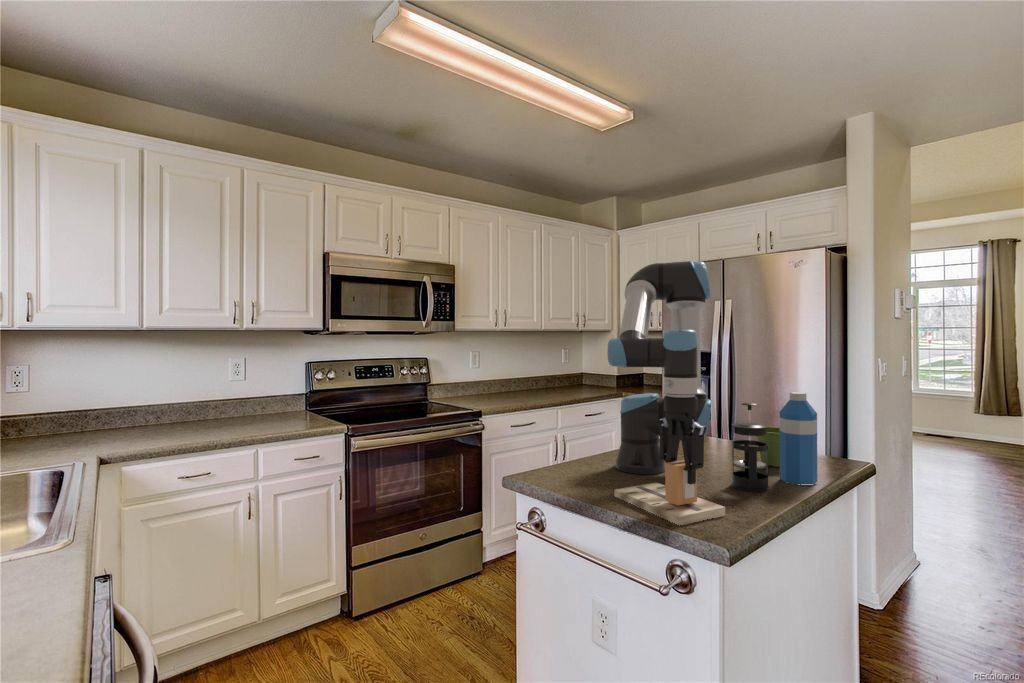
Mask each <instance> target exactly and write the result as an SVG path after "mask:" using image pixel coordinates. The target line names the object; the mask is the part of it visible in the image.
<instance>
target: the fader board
mask: <svg viewBox="0 0 1024 683" xmlns="http://www.w3.org/2000/svg"><path fill="white" fill-rule="evenodd" d="M613 493H614V494H613V496H615V497H618V498H620V499H622V500H624V501H627V502H629V503H631V504H633V505H636V506H637V507H636V508H638V507H640V508H642V509H644V510H646V511H645V512H647V511H648V512H647V513H649V512H651V513H653V514H655V515H654V516H656V515H657V516H656V517H658V516H659V517H658V518H660V517H661V518H660V519H662V518H664V519H663V520H665V519H666V520H665V521H667V520H668V521H667V522H669V521H670V523H672V522H673V523H672V524H674V523H675V524H674V525H676V524H677V525H676V526H678V525H679V526H678V527H680V525H681V526H685V525H689V524H694V522H695V523H699V522H703V520H704V521H708V520H713V519H717V518H722V517H726V506H723V505H721V504H717V503H715V502H712V501H709V500H706V499H703V498H700V497H698V496H697V502H694V503H689V504H684V505H679V506H677V505H675V504H672V503H670V502H667V501H665V484H662V483H659V482H651V483H645V484H639V485H633V486H632V485H631V486H626V487H621V488H615V489H614V490H613ZM615 497H614V498H615ZM620 499H619V500H620ZM622 500H621V501H622ZM624 501H623V502H624ZM629 503H628V504H629ZM631 504H630V505H631ZM633 505H632V506H633ZM640 508H639V509H640ZM642 509H641V510H642ZM644 510H643V511H644ZM651 513H650V514H651ZM653 514H652V515H653ZM712 518H713V519H712ZM707 519H708V520H707Z"/></svg>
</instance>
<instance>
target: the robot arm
mask: <svg viewBox="0 0 1024 683" xmlns="http://www.w3.org/2000/svg"><path fill="white" fill-rule="evenodd" d="M710 289H711V288H710V280H709V275H708V269H707V265H706V264H705V262H703V261H701V260H700V261H691V260H688V261H673V262H655V263H651V264H648V265H645V266H644V267H641V268H640V269H639V270H637V271H636V272H635V273H634V274H633V275H632V276H631V277H630V278H629V279H628V281H627V282H626V285H625V289H624V298H625V299H624V300H625V304H624V310H623V315H622V319H621V324H620V330H619V333H618V337H616V338H611V339H609V340H608V342H607V343H608V344H607V360H608V364H609V365H610V366H611V367H617V368H618V367H619V368H620V367H621V368H625V369H626V368H663V392H664V394H665V396H663V398H660V395H659V393H655V392H654V393H653V392H649V393H640V394H639V393H638V394H632V395H628V396H624V397H623V398H622V399H621V402H620V411H619V414H620V446H619V449H618V451H617V456H616V458H615V468H617V469H616V470H617V471H620V470H621V472H623V473H627V472H628V474H633V473H634V474H633V475H655V474H660V473H664V472H665V463H667V462H674V461H678V453H679V448H680V441H681V445H682V447H681V448H682V453H683V458H684V459H683V460H685V466H686V468H683V498H685V499H686V498H691V497H694V484H695V483H696V470H697V471H698V470H699V469H703V468H704V456H705V455H704V452H705V437H706V436H707V435H708V432H709V425H710V417H711V408H712V400H711V399H709V398H707V392H705V391H704V389H703V388H702V384H701V382H702V381H701V380H702V379H701V378H702V377H701V375H702V374H701V373H702V370H701V366H702V363H701V362H702V361H701V356H702V355H701V351H702V350H701V310H702V308H703V307H704V306H706V300H709V299H710V298H711V290H710ZM655 301H665V306H666V307H667V308H668V309H669V310H670V322H671V324H670V328H671V329H668V330H666V331H664V332H663V337H649V338H648V336H649V327H650V321H651V313H652V312H651V311H652V304H653V303H654V302H655ZM691 463H692V464H691Z"/></svg>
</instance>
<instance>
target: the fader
mask: <svg viewBox="0 0 1024 683" xmlns="http://www.w3.org/2000/svg"><path fill="white" fill-rule="evenodd" d="M691 464H692V463H691ZM683 468H686V466H685V460H684V459H681V460H677V461H674V462H667V463H666V462H665V471H664V474H665V475H664V479H665V480H664V481H665V483H664V485H665V501H667V502H670V503H672V504H675V505H677V506H679V505H684V504H689V503H694V502H697V497H698V469H697V470H696V483H695V484H694V497H691V498H686V499H685V498H683Z"/></svg>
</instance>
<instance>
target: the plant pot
mask: <svg viewBox="0 0 1024 683" xmlns="http://www.w3.org/2000/svg"><path fill="white" fill-rule="evenodd" d="M756 438H757V441H760V442H764V443H767V444H768V467H769V466H771V467H774V468H780V426H779V427H778V426H768V428H767V429H766V435H763V436H756ZM759 457H760V462H763V463H765V464H766V451H760V452H759Z"/></svg>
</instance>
